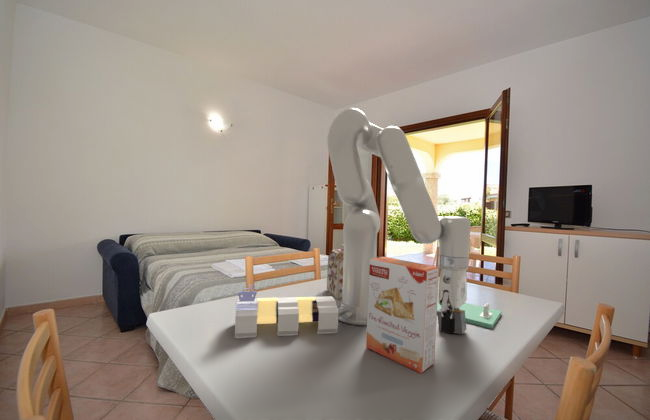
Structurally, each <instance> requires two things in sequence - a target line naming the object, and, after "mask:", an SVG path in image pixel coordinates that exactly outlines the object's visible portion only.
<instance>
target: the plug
mask: <svg viewBox="0 0 650 420" xmlns="http://www.w3.org/2000/svg"><path fill="white" fill-rule="evenodd" d="M448 310H450V313H451V309H449V308H448ZM437 314H438V315H437V321H438V331H441V318H442V316H441V314H442V311H441V309H440V310H439V311H437ZM453 318H454V319H455V324H454V333H453V334H460V335H463V334H464V333H465V332H466V331H467V322H466V317H465V310H458V309H454V317H453ZM441 332H442V331H441Z"/></svg>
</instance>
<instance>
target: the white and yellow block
mask: <svg viewBox="0 0 650 420" xmlns="http://www.w3.org/2000/svg"><path fill="white" fill-rule="evenodd" d="M247 287H248V288H246V287H245V288H243V289H242V291H237V296H238V298H237V300H235V302H236V304H235V319H234V321H235V323H234V339H244V338H245V339H246V338H257V333H258V330H257V329H258V325H265V324H267V325H268V324H277V337H282V336H284V337H285V336H288V337H289V336H298V333H299V326H300V325H299V323H313V322H314V323H316V322H318V323H317V326H318V327H317V335H325V334H337V333H338V329H339V319H338V309H339V308H338V306H337V301H336V299H335V297H334V296H333V295H332V296H330V295H329V296H295V297H294V296H291V297H290V296H287V297H256V296H257V294H258V291H257V290H255V289H256V285H255V284H253V283H252V284H250V285H247ZM245 290H248V291H245ZM254 290H255V291H254Z"/></svg>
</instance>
